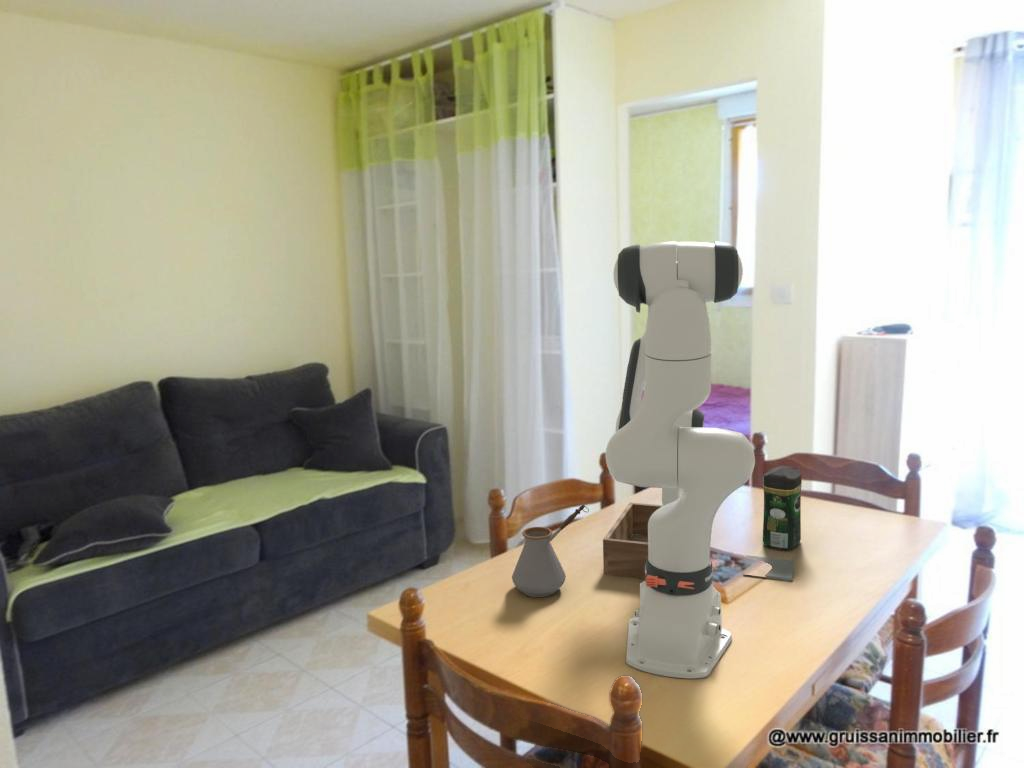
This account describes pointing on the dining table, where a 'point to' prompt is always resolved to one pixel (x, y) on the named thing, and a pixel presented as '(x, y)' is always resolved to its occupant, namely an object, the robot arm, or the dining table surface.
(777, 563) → the coaster
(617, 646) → the dining table surface
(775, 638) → the dining table surface
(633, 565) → the crate
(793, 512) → the coffee jar
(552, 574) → the coffee pot
